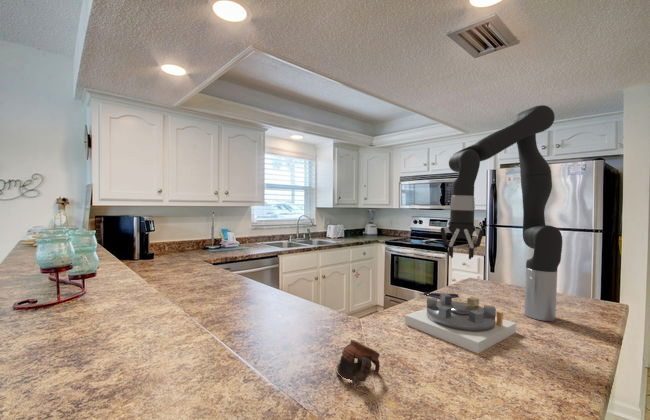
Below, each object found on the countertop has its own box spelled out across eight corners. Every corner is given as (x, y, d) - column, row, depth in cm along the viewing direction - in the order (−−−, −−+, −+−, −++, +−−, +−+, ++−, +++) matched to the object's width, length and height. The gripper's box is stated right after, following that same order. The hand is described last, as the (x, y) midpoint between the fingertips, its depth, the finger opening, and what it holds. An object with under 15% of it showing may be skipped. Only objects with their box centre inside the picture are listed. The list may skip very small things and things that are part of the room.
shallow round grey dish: (447, 304, 112) (448, 290, 112) (506, 321, 96) (507, 306, 96) (414, 315, 100) (414, 299, 100) (474, 337, 84) (475, 319, 84)
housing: (445, 310, 115) (446, 291, 115) (515, 332, 96) (516, 310, 96) (404, 324, 101) (405, 303, 100) (477, 353, 81) (478, 327, 81)
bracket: (432, 307, 120) (432, 300, 120) (423, 295, 135) (423, 289, 135) (470, 309, 119) (470, 302, 119) (456, 297, 134) (457, 291, 134)
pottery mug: (329, 368, 73) (343, 334, 76) (363, 384, 74) (376, 350, 77) (343, 383, 62) (358, 343, 65) (383, 402, 63) (397, 362, 65)
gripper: (484, 209, 106) (483, 258, 106) (440, 208, 112) (439, 254, 112) (486, 209, 99) (485, 262, 99) (439, 208, 105) (438, 258, 105)
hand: (460, 257), depth 106 cm, fingers open, 5 cm apart
